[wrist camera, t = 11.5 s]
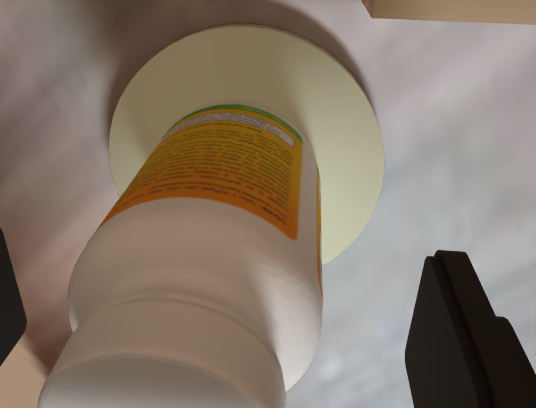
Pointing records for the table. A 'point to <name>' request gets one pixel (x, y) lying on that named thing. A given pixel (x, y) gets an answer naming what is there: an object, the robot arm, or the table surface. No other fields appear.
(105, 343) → the supplement bottle
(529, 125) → the table surface
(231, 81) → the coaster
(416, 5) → the can holder
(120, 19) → the table surface
